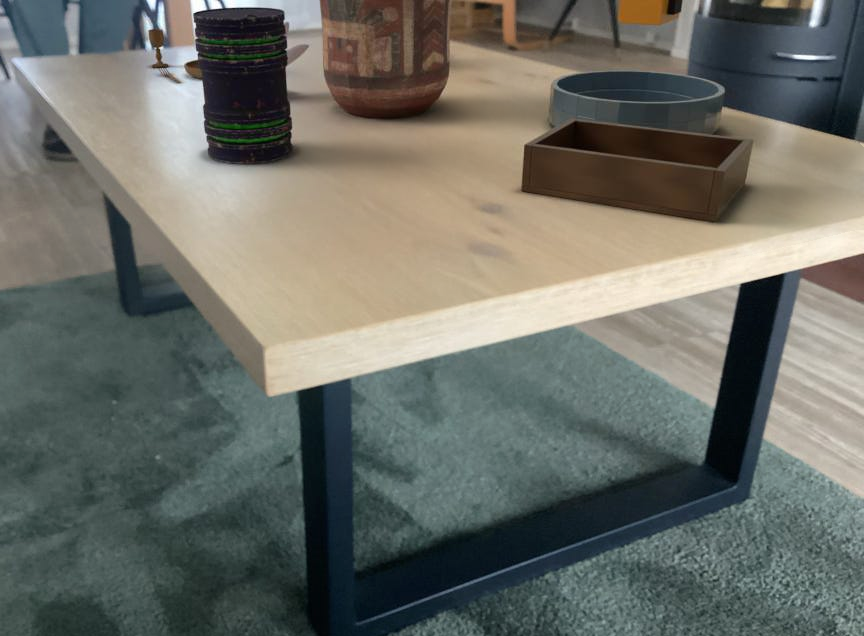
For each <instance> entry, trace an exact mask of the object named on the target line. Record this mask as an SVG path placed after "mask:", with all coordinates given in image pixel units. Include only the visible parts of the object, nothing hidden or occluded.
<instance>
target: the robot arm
mask: <svg viewBox="0 0 864 636" xmlns="http://www.w3.org/2000/svg"><path fill="white" fill-rule="evenodd" d="M683 2H684V0H669V2H668V10H667V15H675V14H677V13H679V14H680V13H682V8H683ZM619 6H620V2H619V5H618V7H619Z"/></svg>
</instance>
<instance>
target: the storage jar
mask: <svg viewBox="0 0 864 636" xmlns="http://www.w3.org/2000/svg"><path fill="white" fill-rule="evenodd" d="M285 14H286V13H285V10H283V9H280V8H272V7H257V6H256V7H255V6H251V7H250V6H242V7H241V6H239V7H221V8H220V7H219V8H210V9H203V10H198V11H195V12H193V13H192V16H193V22H194V24H195V28H194V35H195V39H194V43H195V51H196V52H197V59H196V60H197V62H198V65H199V69H200V70H201V72H202V79H201V81H202V90H203V99H204V104H203V105H202V110H203V118H204V120H203V128H204V133H205V135H206V137H205V139H206V143H207V144H208V148H207V156H208V157H209V158H210V159H211V160H213V161H216V162H220V163H225V164H235V165H236V164H238V165H239V164H240V165H246V164H248V165H249V164H250V165H251V164H262V163H263V164H264V163H269V162H274V161H279V160H282V159H285V158H288V157H289V156H290V155H291V154H293V151H294V150H293V149H294V147H293V144H292V137H293V135H292V129H293V119H292V116H291V114H292V113H291V111H292V110H291V103H290V101H289V99H288V87H287V86H288V83H287V82H288V81H287V67H288V65H287V64H288V62H287V60H288V57H287V51H286V50H287V49H288V36H287V37H286V36H284V35H285V34H286V30H285V25H284V23H285V20H286V15H285ZM198 52H199V53H198Z"/></svg>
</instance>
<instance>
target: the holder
mask: <svg viewBox="0 0 864 636" xmlns="http://www.w3.org/2000/svg"><path fill="white" fill-rule="evenodd" d="M753 145H754V139H752V138H743V137H734V136H725V135H717V134H716V135H715V134H711V135H710V134H701V133H693V132H684V131H675V130H667V129H658V128H650V127H641V126H632V125H624V124H615V123H607V122H598V121H589V120H581V119H572V118H571V119H569V120H568V121H566V122H564V123H562V124H560V125H559V126H557V127H555V126H554V127H553V128H551V129H549V130H548V131H546V132H544V133H543V134H541V135H539V136H537V137H536V138H533V139H532V140H530V141H528V142H526V143H524V146H523V158H522V173H521V174H522V175H521V176H522V177H521V187H520V190H521V192H527V193H532V194H538V195H545V196H550V197H557V198H563V199H568V200H569V199H570V200H575V201H583V202H588V203H592V204H593V203H594V204H600V205H605V206H613V207H617V208H626V209H632V210H638V211H642V212H643V211H644V212H649V213H655V214H663V215H668V216H675V217H679V218H680V217H681V218H685V219H687V218H688V219H693V220H700V221H705V222H712V223H716V222H717V220H719V218H720V217H721V216H722V214H723V213H724V212H725V211H726V209H727V208H728V207H729V206H730V205H731V203H732V202H733V201H734V199H735V198H736V197H737V196H738V194H739V193H740V192H741V191H742V189H743V188H744V187H745V186H746V180H747V178H748V177H747V175H748V171H749V166H750V161H751V156H752V150H753Z"/></svg>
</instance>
